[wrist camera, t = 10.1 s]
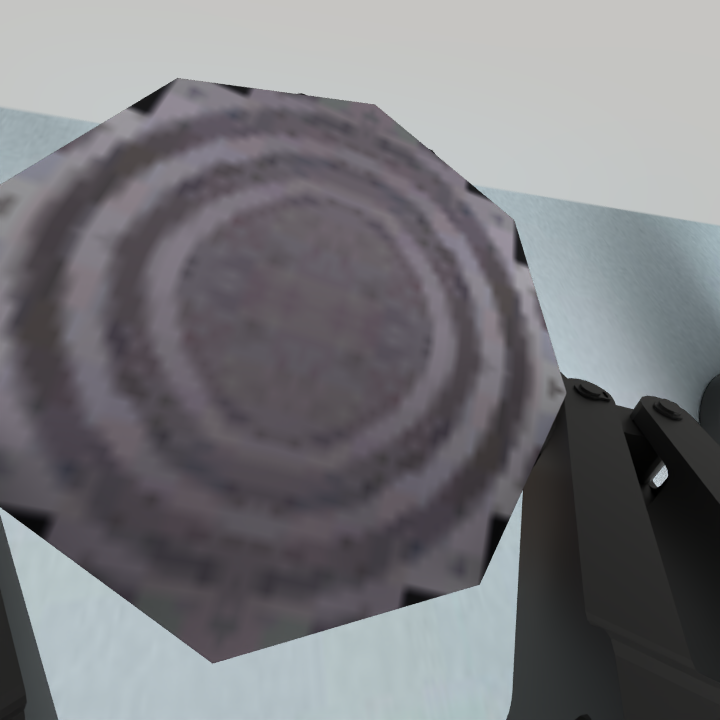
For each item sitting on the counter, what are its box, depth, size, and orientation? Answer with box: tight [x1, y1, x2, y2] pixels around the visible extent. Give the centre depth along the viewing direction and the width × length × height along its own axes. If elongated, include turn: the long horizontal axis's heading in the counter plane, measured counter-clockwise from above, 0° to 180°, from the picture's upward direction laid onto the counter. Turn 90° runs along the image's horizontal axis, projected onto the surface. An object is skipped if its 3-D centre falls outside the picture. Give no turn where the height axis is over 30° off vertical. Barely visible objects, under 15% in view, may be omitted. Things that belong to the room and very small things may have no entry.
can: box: [0, 78, 566, 663], centre depth 13 cm, size 11×11×12 cm
